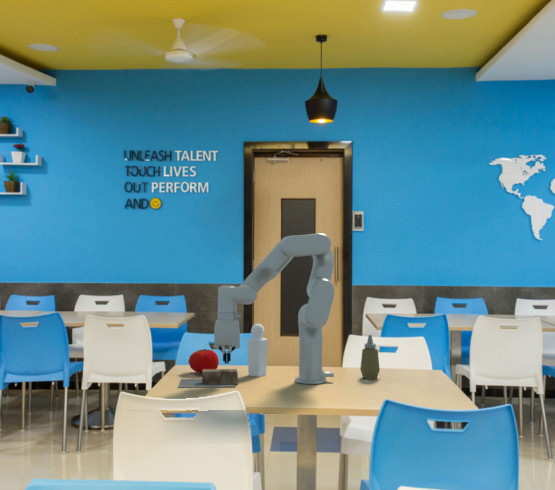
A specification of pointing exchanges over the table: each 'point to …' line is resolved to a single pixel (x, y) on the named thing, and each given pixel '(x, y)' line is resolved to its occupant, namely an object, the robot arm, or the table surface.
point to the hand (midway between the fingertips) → (226, 363)
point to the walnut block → (220, 376)
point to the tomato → (203, 360)
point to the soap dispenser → (257, 352)
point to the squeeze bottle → (370, 360)
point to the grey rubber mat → (200, 384)
